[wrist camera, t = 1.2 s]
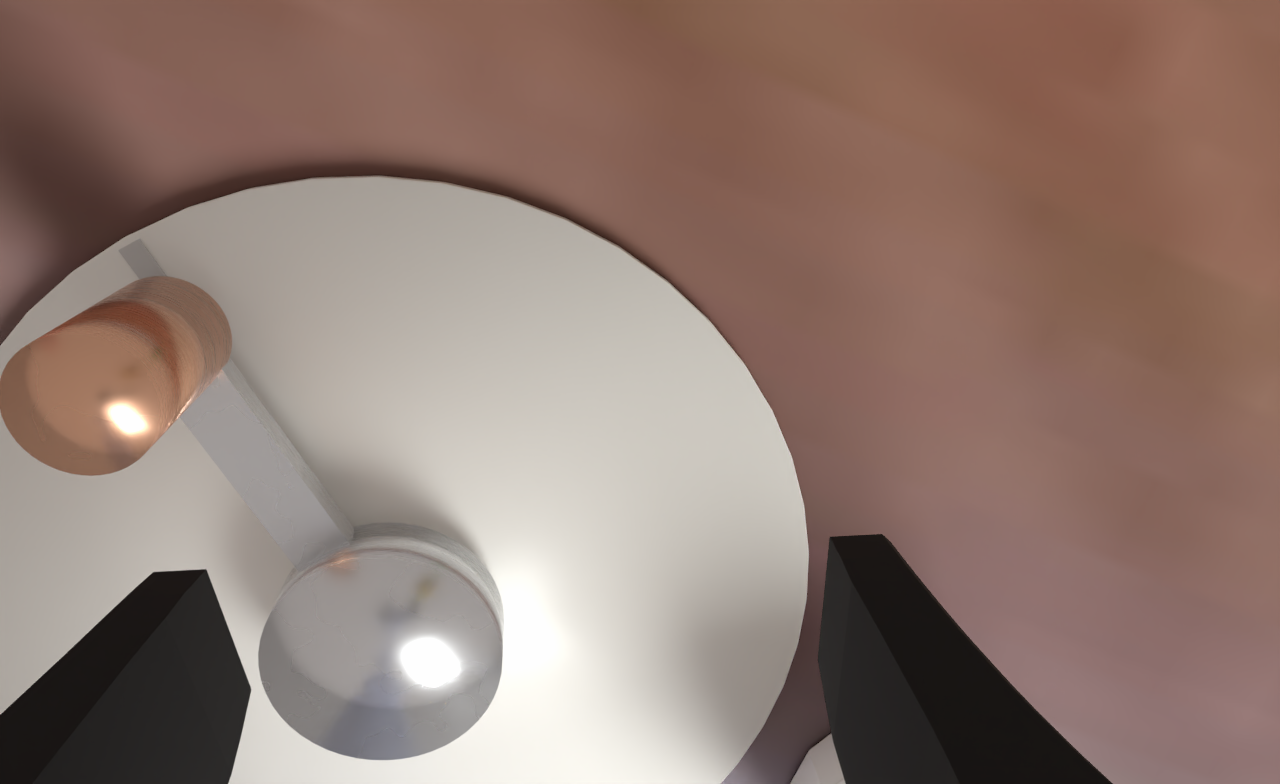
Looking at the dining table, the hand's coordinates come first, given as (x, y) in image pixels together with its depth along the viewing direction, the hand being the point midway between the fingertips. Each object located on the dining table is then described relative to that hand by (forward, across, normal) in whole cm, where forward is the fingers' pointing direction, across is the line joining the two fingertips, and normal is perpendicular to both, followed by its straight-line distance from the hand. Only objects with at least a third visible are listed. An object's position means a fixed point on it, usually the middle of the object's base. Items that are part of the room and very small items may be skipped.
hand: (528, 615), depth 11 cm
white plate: (+13, +6, +12) cm, 19 cm away
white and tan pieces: (+13, +8, +8) cm, 17 cm away
